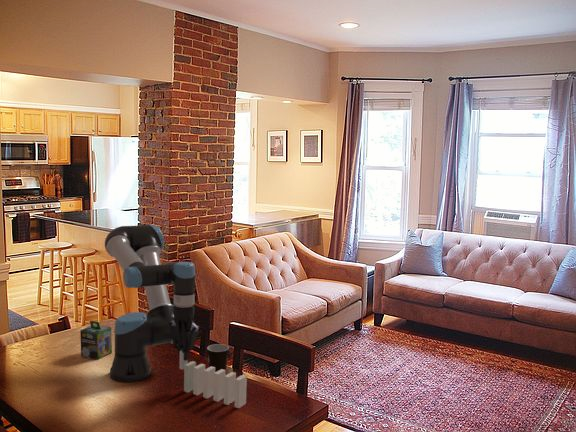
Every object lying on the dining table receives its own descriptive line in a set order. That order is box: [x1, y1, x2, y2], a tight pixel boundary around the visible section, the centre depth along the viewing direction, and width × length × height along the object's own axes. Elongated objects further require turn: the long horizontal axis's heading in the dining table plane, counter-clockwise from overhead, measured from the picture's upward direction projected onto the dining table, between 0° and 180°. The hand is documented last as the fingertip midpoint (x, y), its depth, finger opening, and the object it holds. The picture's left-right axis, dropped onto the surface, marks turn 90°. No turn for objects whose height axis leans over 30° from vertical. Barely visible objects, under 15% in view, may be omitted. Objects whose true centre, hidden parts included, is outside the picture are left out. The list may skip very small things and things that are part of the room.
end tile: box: [183, 360, 197, 393], centre depth 193 cm, size 2×4×10 cm, turn 151°
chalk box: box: [80, 320, 113, 361], centre depth 224 cm, size 9×9×15 cm
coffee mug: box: [206, 343, 230, 372], centre depth 212 cm, size 12×9×10 cm
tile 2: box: [192, 363, 206, 396], centre depth 191 cm, size 2×4×10 cm, turn 151°
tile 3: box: [202, 366, 215, 399], centre depth 189 cm, size 2×4×10 cm, turn 151°
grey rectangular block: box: [234, 374, 248, 409], centre depth 183 cm, size 2×4×10 cm, turn 151°
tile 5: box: [223, 371, 237, 406], centre depth 185 cm, size 2×4×10 cm, turn 151°
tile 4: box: [212, 369, 227, 403], centre depth 187 cm, size 2×4×10 cm, turn 151°
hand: (183, 368), depth 194 cm, fingers closed
